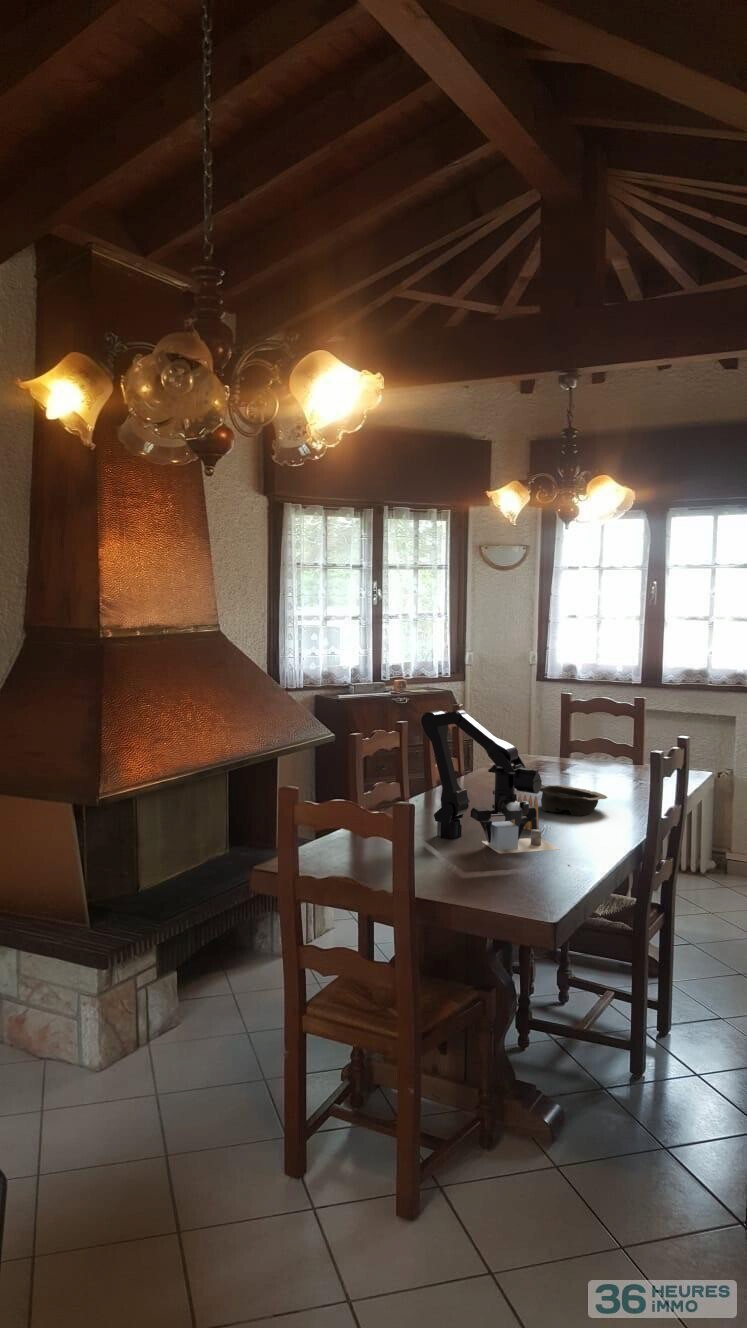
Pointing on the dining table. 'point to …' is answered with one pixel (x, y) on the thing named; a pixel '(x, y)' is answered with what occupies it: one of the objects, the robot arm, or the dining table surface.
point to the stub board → (528, 844)
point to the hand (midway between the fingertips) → (503, 841)
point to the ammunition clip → (534, 822)
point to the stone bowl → (569, 799)
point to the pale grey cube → (504, 835)
